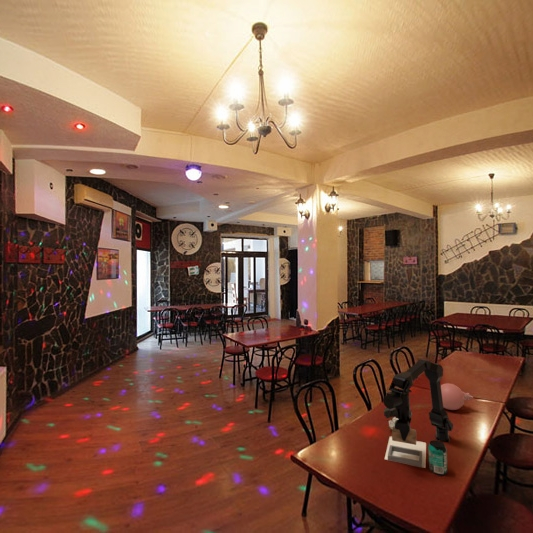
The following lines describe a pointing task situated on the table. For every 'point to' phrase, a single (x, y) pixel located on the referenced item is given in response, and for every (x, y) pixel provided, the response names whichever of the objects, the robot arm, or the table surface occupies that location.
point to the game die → (392, 422)
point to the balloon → (453, 396)
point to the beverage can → (437, 458)
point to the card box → (410, 438)
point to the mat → (407, 453)
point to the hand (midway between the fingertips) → (404, 437)
